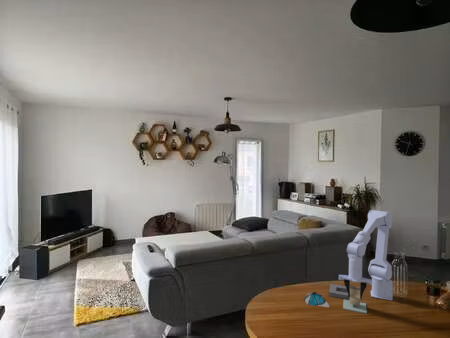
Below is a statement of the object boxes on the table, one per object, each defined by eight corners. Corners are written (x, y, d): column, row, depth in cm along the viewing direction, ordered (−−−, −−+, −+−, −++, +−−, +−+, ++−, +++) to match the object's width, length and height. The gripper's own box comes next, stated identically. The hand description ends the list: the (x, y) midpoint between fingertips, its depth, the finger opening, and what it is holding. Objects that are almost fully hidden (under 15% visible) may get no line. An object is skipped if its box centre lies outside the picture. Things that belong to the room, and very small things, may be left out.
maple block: (359, 301, 140) (359, 286, 140) (359, 305, 136) (360, 290, 136) (349, 299, 142) (349, 285, 142) (349, 303, 138) (349, 288, 138)
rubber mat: (365, 304, 142) (365, 303, 142) (366, 313, 133) (366, 312, 133) (343, 300, 146) (343, 299, 146) (342, 309, 136) (342, 308, 136)
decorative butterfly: (300, 290, 148) (320, 285, 148) (303, 302, 148) (323, 298, 148) (305, 299, 138) (326, 294, 138) (309, 312, 138) (329, 307, 138)
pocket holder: (354, 291, 157) (354, 287, 157) (354, 300, 146) (354, 296, 146) (330, 287, 161) (330, 283, 161) (328, 296, 150) (328, 292, 150)
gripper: (338, 268, 138) (338, 297, 138) (373, 273, 132) (372, 303, 133) (339, 264, 145) (338, 291, 145) (372, 268, 139) (371, 297, 139)
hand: (354, 297), depth 139 cm, fingers closed on maple block, 4 cm apart
